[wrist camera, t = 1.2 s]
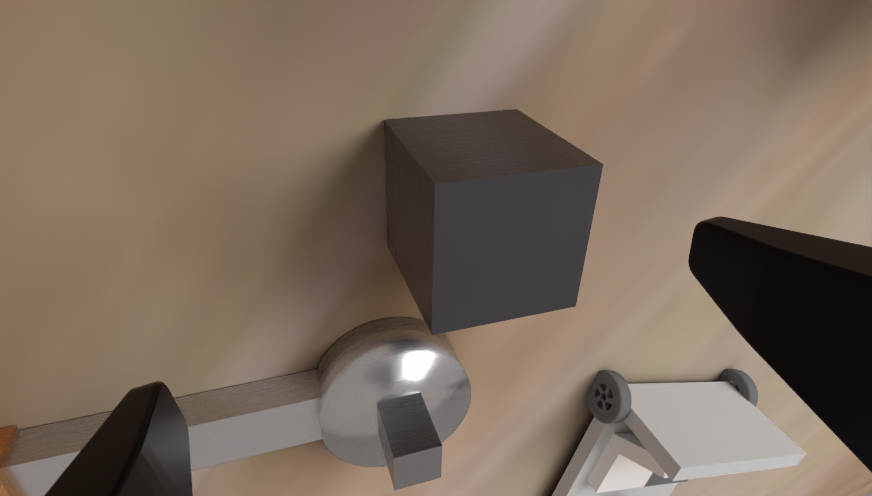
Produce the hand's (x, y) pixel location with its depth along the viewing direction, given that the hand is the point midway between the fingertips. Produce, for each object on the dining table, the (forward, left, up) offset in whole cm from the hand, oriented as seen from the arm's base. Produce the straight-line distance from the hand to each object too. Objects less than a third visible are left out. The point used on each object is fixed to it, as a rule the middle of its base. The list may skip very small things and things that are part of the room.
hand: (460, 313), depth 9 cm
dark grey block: (-4, +3, -12) cm, 14 cm away
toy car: (-18, +27, -13) cm, 34 cm away
